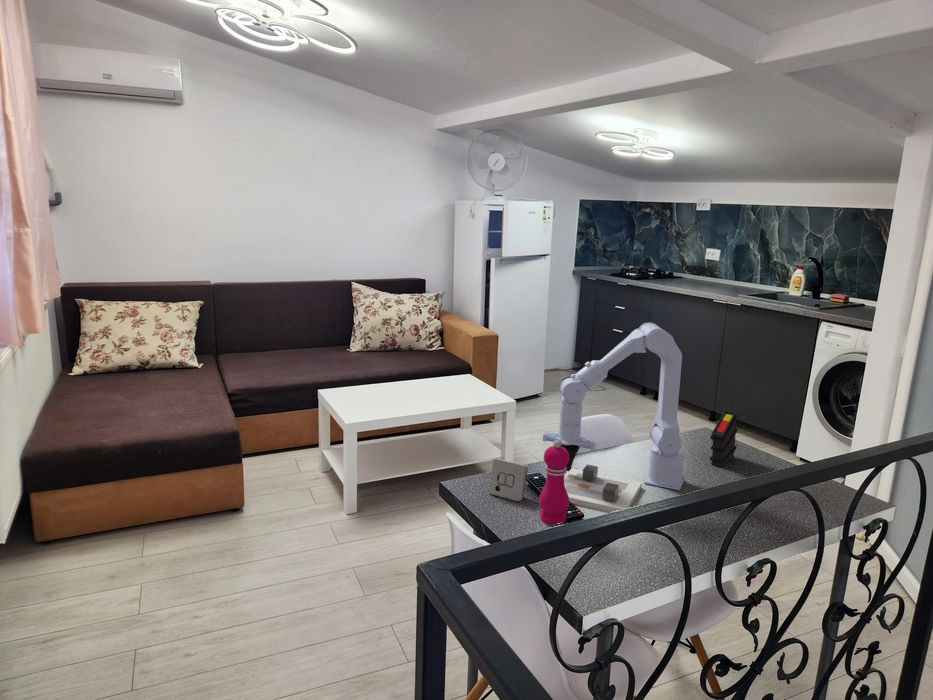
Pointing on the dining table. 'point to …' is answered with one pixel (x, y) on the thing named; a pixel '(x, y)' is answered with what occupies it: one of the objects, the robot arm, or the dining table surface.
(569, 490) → the switch panel
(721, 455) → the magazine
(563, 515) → the pepper mill
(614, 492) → the tab
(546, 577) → the dining table surface
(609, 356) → the robot arm
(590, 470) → the dark grey block
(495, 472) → the electrical switch
